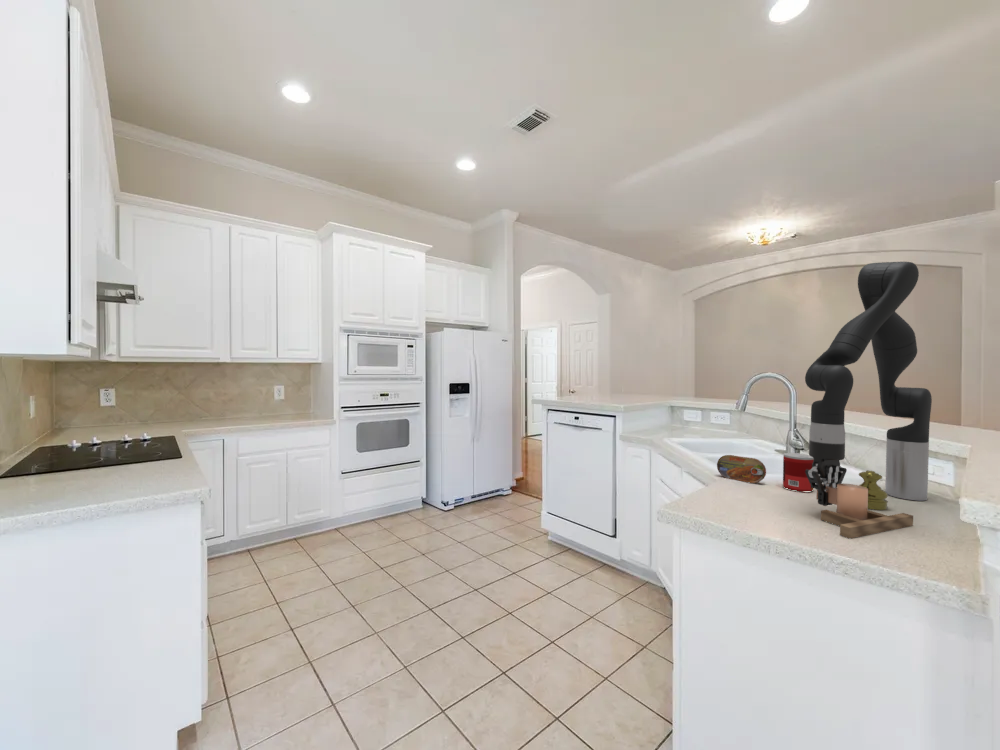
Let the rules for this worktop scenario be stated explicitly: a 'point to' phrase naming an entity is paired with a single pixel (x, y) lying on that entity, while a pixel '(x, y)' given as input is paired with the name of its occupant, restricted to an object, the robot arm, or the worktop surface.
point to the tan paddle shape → (849, 500)
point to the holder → (867, 523)
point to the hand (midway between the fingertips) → (825, 504)
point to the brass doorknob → (874, 490)
